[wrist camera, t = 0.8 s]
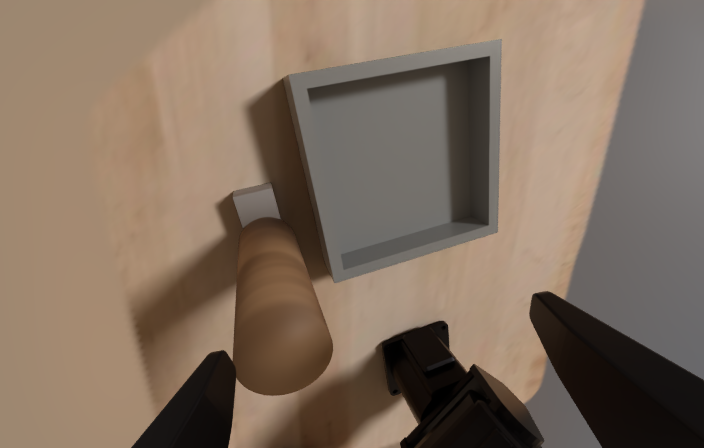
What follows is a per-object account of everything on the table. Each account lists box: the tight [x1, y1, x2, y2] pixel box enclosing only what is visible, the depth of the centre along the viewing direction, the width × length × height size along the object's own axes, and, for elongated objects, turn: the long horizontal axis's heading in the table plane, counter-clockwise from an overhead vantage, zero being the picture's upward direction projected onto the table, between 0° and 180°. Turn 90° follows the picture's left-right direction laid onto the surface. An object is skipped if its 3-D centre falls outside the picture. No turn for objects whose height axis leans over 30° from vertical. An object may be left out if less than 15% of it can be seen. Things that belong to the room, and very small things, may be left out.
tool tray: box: [283, 39, 502, 283], centre depth 22 cm, size 13×13×3 cm
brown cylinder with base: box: [233, 182, 333, 396], centre depth 17 cm, size 7×4×12 cm, turn 10°
